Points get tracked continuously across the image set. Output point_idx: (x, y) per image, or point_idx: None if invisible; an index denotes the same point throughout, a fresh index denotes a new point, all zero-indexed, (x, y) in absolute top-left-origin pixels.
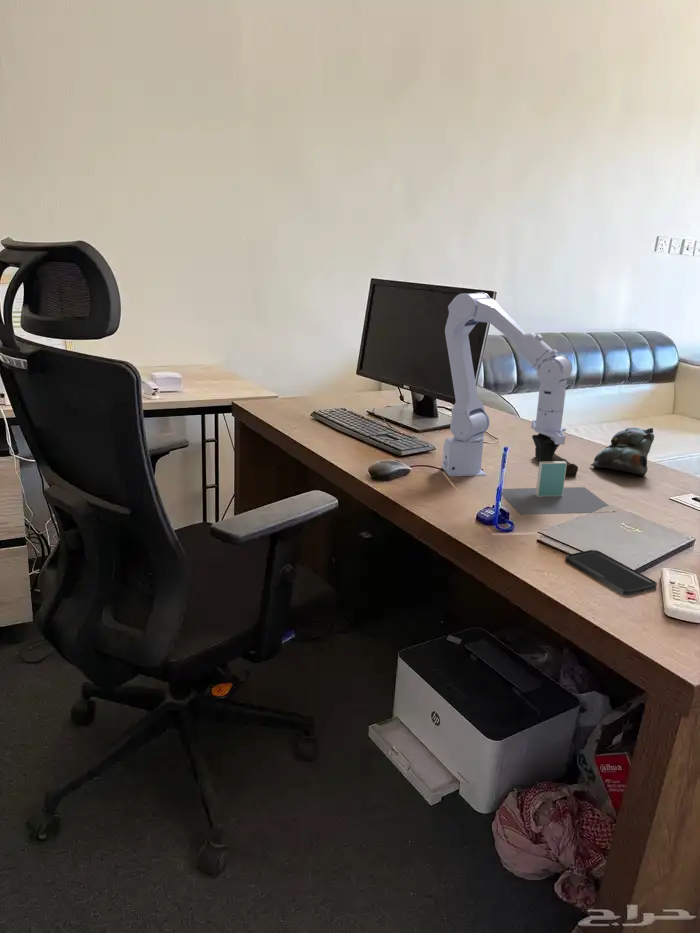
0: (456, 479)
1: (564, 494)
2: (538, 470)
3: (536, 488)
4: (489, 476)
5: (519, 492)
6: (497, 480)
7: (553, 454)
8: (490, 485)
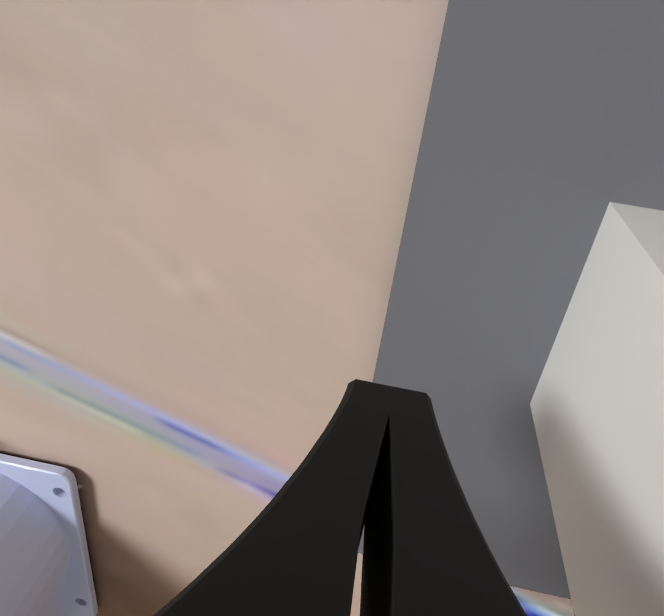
0: (132, 599)
1: (636, 164)
2: (573, 601)
3: (541, 442)
4: (68, 443)
5: None
6: (149, 440)
7: (485, 544)
8: (244, 517)
